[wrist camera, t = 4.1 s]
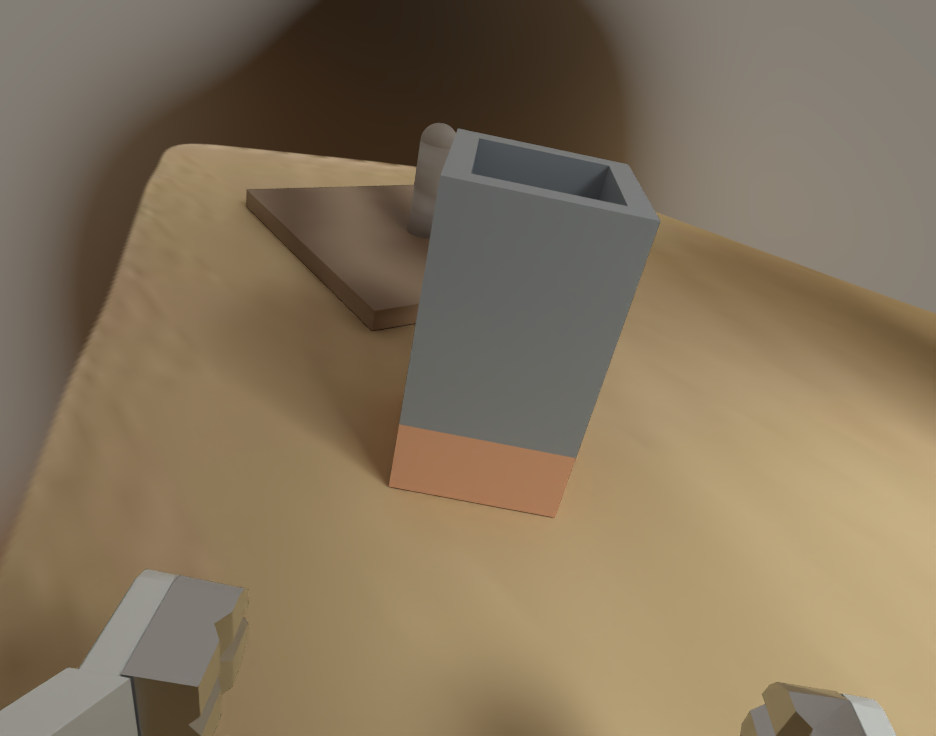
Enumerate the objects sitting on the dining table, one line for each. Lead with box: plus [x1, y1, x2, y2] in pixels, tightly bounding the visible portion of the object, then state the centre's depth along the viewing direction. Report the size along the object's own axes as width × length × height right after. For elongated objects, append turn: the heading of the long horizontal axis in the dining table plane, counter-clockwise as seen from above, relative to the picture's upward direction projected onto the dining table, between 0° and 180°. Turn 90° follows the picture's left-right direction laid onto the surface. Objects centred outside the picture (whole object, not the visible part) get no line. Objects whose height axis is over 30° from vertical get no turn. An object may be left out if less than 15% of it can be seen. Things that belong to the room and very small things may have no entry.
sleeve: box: [389, 129, 660, 518], centre depth 21 cm, size 5×5×10 cm
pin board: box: [246, 123, 456, 331], centre depth 36 cm, size 15×15×7 cm
